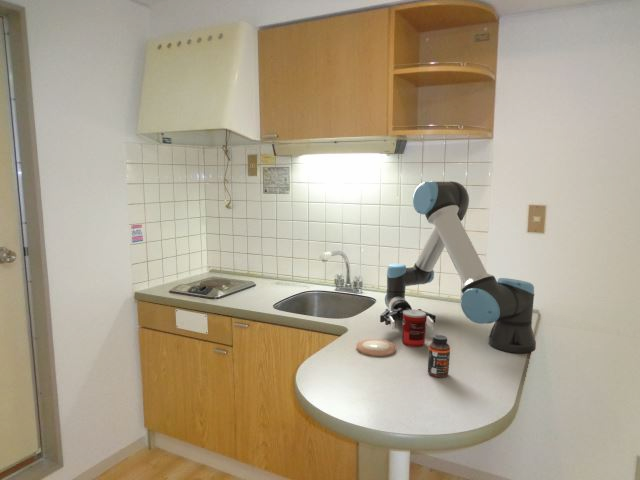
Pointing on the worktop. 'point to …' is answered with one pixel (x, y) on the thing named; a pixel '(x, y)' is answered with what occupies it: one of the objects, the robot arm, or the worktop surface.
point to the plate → (376, 347)
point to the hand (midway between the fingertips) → (413, 325)
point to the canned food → (413, 328)
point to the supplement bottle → (439, 356)
